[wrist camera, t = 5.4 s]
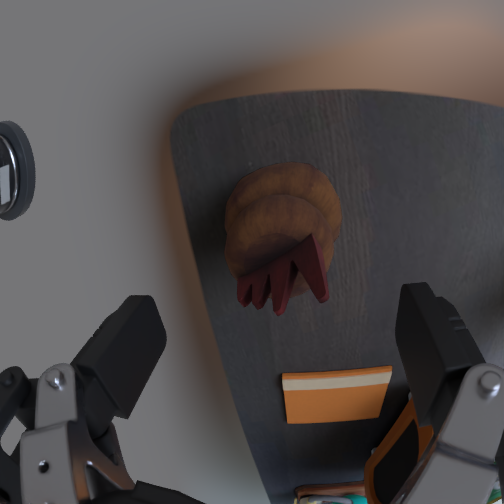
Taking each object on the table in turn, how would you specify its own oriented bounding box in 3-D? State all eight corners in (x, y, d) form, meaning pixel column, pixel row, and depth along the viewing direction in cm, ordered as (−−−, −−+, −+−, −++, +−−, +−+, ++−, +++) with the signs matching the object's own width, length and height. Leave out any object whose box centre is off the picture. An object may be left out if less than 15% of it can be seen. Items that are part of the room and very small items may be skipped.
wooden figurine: (323, 148, 20) (375, 213, 7) (337, 222, 22) (380, 373, 9) (232, 167, 22) (133, 258, 8) (252, 237, 24) (199, 389, 11)
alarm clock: (416, 371, 28) (448, 501, 13) (474, 366, 27) (515, 476, 12) (361, 459, 38) (363, 544, 24) (408, 454, 37) (417, 534, 23)
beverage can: (504, 456, 40) (514, 489, 30) (494, 467, 43) (502, 498, 33) (481, 466, 42) (489, 502, 31) (472, 476, 45) (478, 509, 35)
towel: (287, 420, 35) (287, 424, 34) (282, 373, 30) (281, 377, 30) (378, 414, 32) (378, 418, 32) (391, 364, 28) (392, 369, 28)
